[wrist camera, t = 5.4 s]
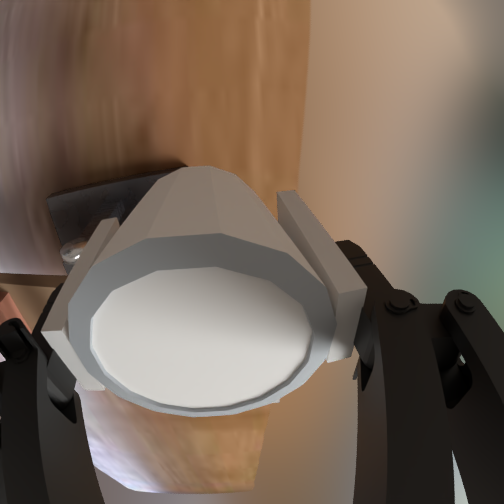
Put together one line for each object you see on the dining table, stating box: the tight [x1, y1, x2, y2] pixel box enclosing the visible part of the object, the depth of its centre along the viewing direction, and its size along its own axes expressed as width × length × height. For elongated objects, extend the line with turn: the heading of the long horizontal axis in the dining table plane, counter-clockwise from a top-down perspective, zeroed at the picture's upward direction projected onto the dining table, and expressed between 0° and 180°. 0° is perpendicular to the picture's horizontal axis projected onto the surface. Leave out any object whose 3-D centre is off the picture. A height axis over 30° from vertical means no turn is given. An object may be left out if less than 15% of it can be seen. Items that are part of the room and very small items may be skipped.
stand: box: [46, 166, 188, 275], centre depth 27 cm, size 16×18×13 cm
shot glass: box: [68, 166, 337, 417], centre depth 10 cm, size 7×7×7 cm
